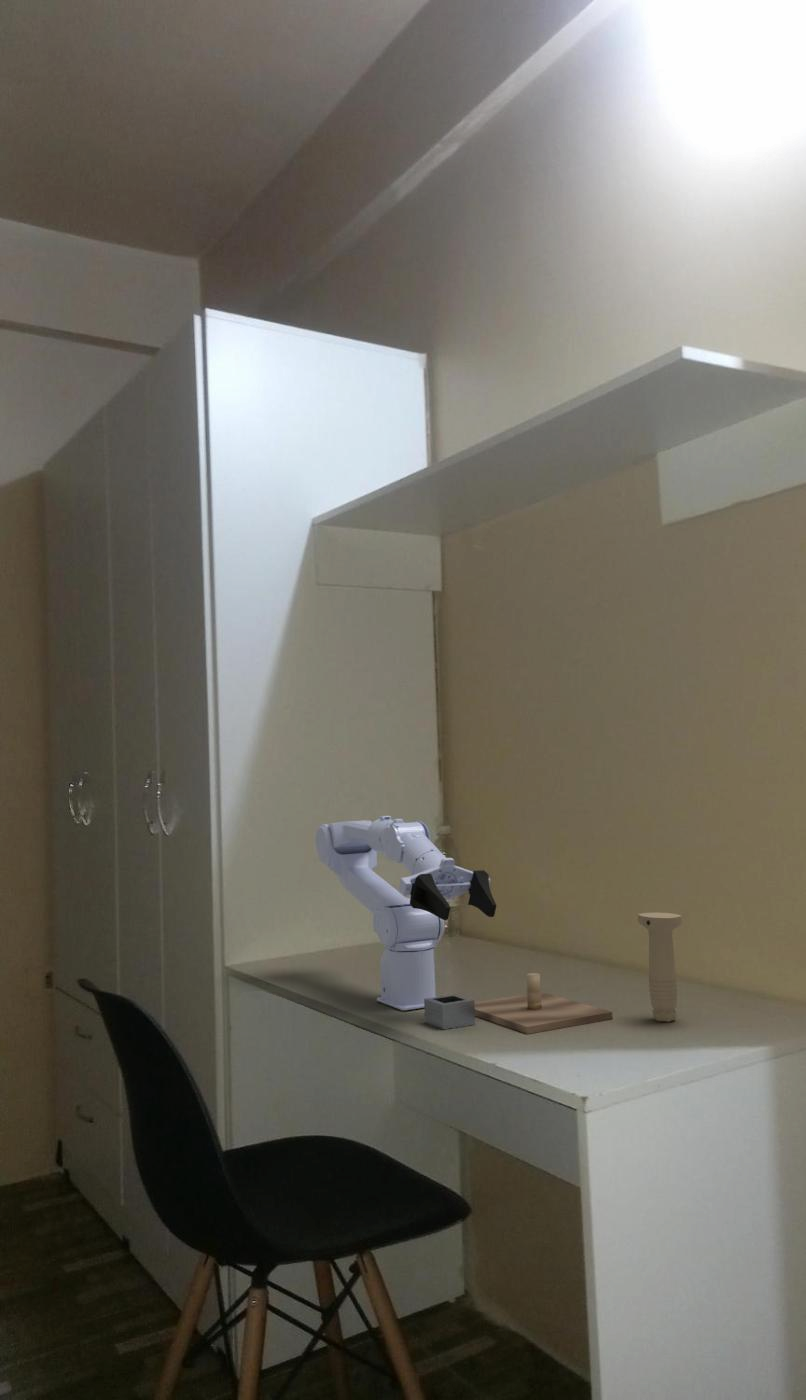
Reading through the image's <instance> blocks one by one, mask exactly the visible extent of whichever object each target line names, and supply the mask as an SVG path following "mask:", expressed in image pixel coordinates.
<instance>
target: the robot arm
mask: <svg viewBox="0 0 806 1400" xmlns="http://www.w3.org/2000/svg"><path fill="white" fill-rule="evenodd" d="M315 834H316V835H315V846H316V851H317V856H318V858H319V861H320V862H321V863H322V864H324V865H325V866H326V867H327V868H328V869H329V870H330V871H332V872H334V873H335V876H336V877H337V878H338V880H339V881H340V883H341V884H342V886H343V888H344V889H345V890H346V891H347V892H349V893H350V895H352V896H353V897H354V898H355V899H356V900H357V901H359V902H360V903H361V904H362V905H363V906H364V907H365V908H367V909H368V910H369V911H370V913H372V914H373V918H372V919H373V920H372V923H373V925H372V927H373V931H374V933H376V934H377V937H378V940H379V942H380V943H381V944H382V945H383V947H384V948H385V950H384V951H383V953H382V955H381V957H380V962H379V963H380V965H379V967H380V991H381V996H378V997H377V998H376V1002H380V1003H382V1004H383V1005H386V1006H390V1007H392V1008H395V1009H398V1010H400V1011H410V1010H416V1009H422V1008H423V1009H424V999H427V998H433V997H437V995H436V976H435V974H436V973H435V948H436V947H437V948H438V945H439V944H438V943H439V942H440V941H441V939H442V938H443V935H444V933H445V926H446V925H445V921H448V920H449V917H450V916H449V915H450V912H451V906H450V904H449V902H448V901H449V900H451V899H454V898H456V897H458V896H461V895H463V894H465V893H468V894H469V898H468V903H467V905H468V906H472V907H475V908H477V909H479V910H480V912H482V913H483V914H484V915H485V916H487V917H488V918H493V917H495V913H496V909H497V903H496V902H495V899H494V897H493V894H492V891H491V887H490V886H491V885H490V884H491V878H490V877H489V875H490V874H488V872H486V870H483V869H481V870H473V871H471V870H469V869H466V868H463V867H460V866H458V865H455V859H454V858H452V857H446V856H445V855H444V853H443V852H441V851H440V849H438V848H437V846H436V845H435V844H433V842H432V841H431V836H430V831H429V828H428V826H427V825H426V824H425V823H424V822H422V821H421V820H416V821H413V822H404V819H403V818H393V819H392V816H391V815H380V816H379V818H378V819H376V820H373V822H372V820H368V819H367V820H366V819H365V820H364V819H362V820H351V821H349V820H347V821H340V822H333V823H332V822H331V823H328V824H327V823H322V824H320V825H319V827H318V828H317V830H316V833H315ZM378 853H380V854H384V855H385V857H386V859H387V860H388V861H395V862H396V863H397V864H402V865H403V867H405V869H406V870H407V871H408V872H409V873H410V875H409V876H405V877H400V881H399V885H398V890H397V889H396V888H394V886H392V885H391V884H390V883H389V882H387V881H386V880H385V879H383V878H382V877H381V876H380V875H378V874H377V873H376V872H375V871H374V869H375V868H377V866H378V861H377V860H378V856H377V855H378ZM399 891H400V892H399ZM406 896H410V898H409V897H406Z"/></svg>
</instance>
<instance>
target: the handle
mask: <svg viewBox="0 0 806 1400" xmlns="http://www.w3.org/2000/svg"><path fill="white" fill-rule="evenodd" d="M637 921H638V923H639V924H640V925H641V926H642V927H644V928H645V929H646V930H647V931H648V932H647V933H648V949H649V950H648V983H649V985H648V986H649V987H648V988H649V997H650V1003H651V1007H652V1008H653V1009H652V1010H651V1011H652V1015H653V1019H654V1020H655V1021H657V1022H666V1023H670V1022H673V1021H676V1020H677V1011H676V1008H677V1006H678V1005H677V1003H678V982H677V981H678V980H677V968H676V961H675V960H676V959H675V953H674V952H675V951H674V941H673V931H674V930H675V929H677V928H679V927H680V926H681V925H682V923H683V922H682V915H680V914H678V913H671V912H655V911H654V912H643V913H638V915H637Z"/></svg>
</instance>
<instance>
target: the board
mask: <svg viewBox="0 0 806 1400" xmlns="http://www.w3.org/2000/svg"><path fill="white" fill-rule="evenodd" d="M525 976H526V991H527V993H526V994H520V995H514V996H513V995H512V996H508V997H507V996H506V997H501V998H494V999H487V1000H481V1001H474V1004H475V1017H477V1018H480V1019H483V1020H486V1021H488V1022H492V1023H494V1024H497V1025H500V1026H503V1027H506V1028H509V1029H512V1030H514V1031H518V1032H520V1033H522V1034H526V1035H529V1034H535V1033H542V1032H547V1031H551V1030H552V1031H553V1030H557V1029H563V1028H569V1027H574V1026H580V1025H581V1026H582V1025H584V1024H585V1025H586V1024H590V1023H598V1022H603V1021H607V1020H613V1012H612V1011H611V1010H607V1009H603V1008H600V1007H596V1006H593V1005H590V1004H589V1005H588V1004H586V1003H582V1002H578V1001H575V1000H572V999H567V998H564V997H560V996H557V995H554V994H550V993H547V992H543V991H541V974H540V973H537V972H534V973H533V972H532V973H531V972H530V973H529V972H528V973H527V974H526V975H525Z"/></svg>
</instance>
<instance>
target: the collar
mask: <svg viewBox="0 0 806 1400" xmlns="http://www.w3.org/2000/svg"><path fill="white" fill-rule="evenodd" d="M474 1002H475V999H472V998H469V997H466V996H462V995H460V994H457V993H455V994H454V993H453V994H448V995H440V996H436V997H433V998H427V999H424V1007H423V1009H424V1023H425V1022H426V1023H425V1024H427V1023H428V1024H427V1025H429V1024H431V1025H430V1026H432V1025H433V1027H435V1028H437V1027H438V1029H440V1028H441V1029H440V1030H442V1029H446V1030H450V1029H449V1028H452V1029H456V1027H457V1028H463V1027H468V1026H475V1025H476V1016H475V1004H474Z"/></svg>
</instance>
